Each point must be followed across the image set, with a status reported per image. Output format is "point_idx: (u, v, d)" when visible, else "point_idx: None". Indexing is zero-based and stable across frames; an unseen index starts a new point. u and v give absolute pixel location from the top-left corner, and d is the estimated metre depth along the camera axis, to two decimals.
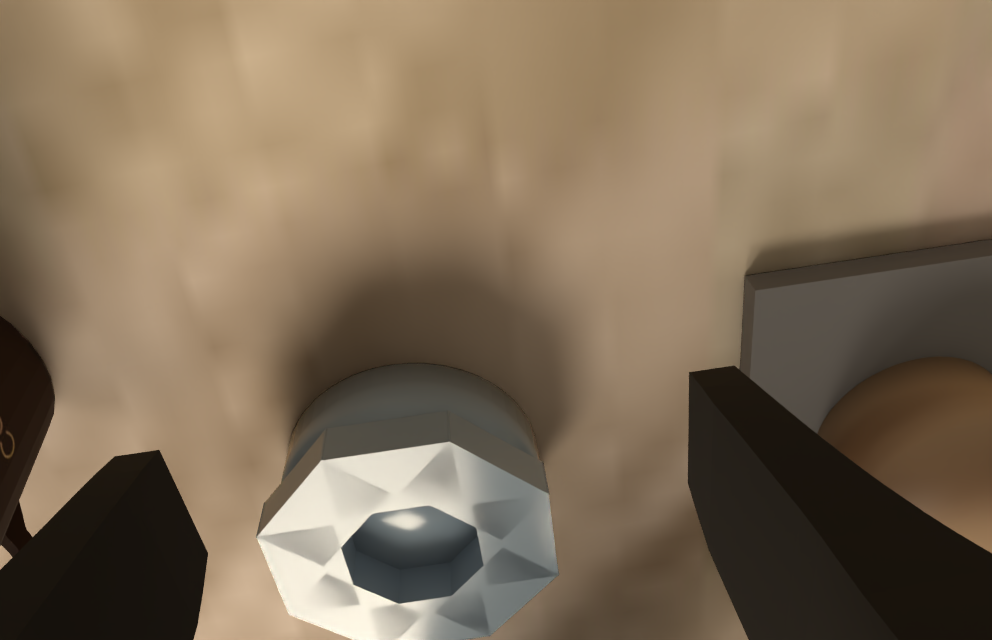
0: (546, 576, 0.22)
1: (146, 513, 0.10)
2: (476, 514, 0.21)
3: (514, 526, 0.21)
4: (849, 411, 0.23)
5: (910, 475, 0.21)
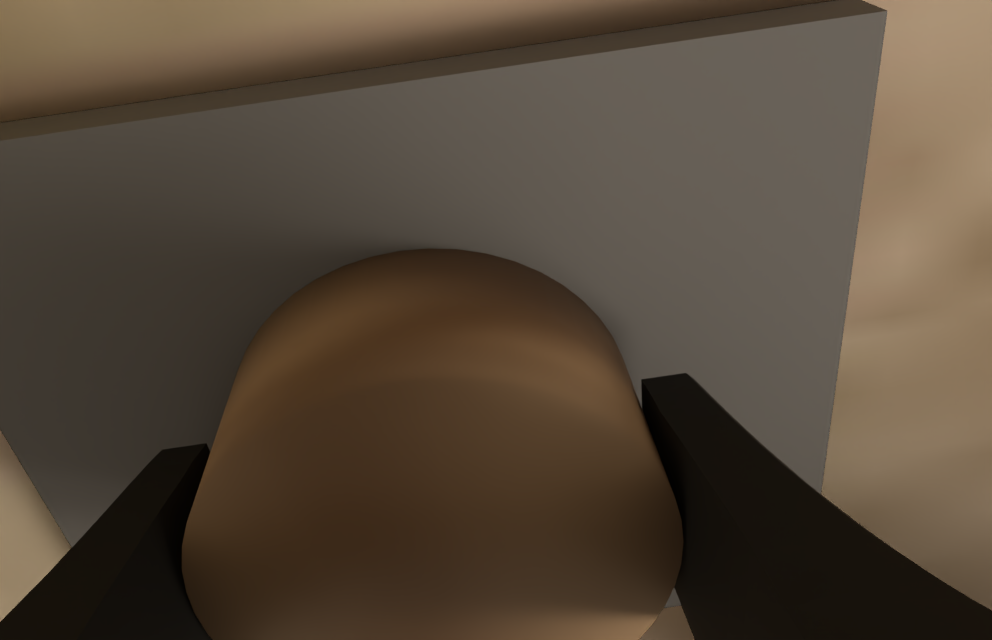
0: None
1: None
2: None
3: None
4: None
5: None
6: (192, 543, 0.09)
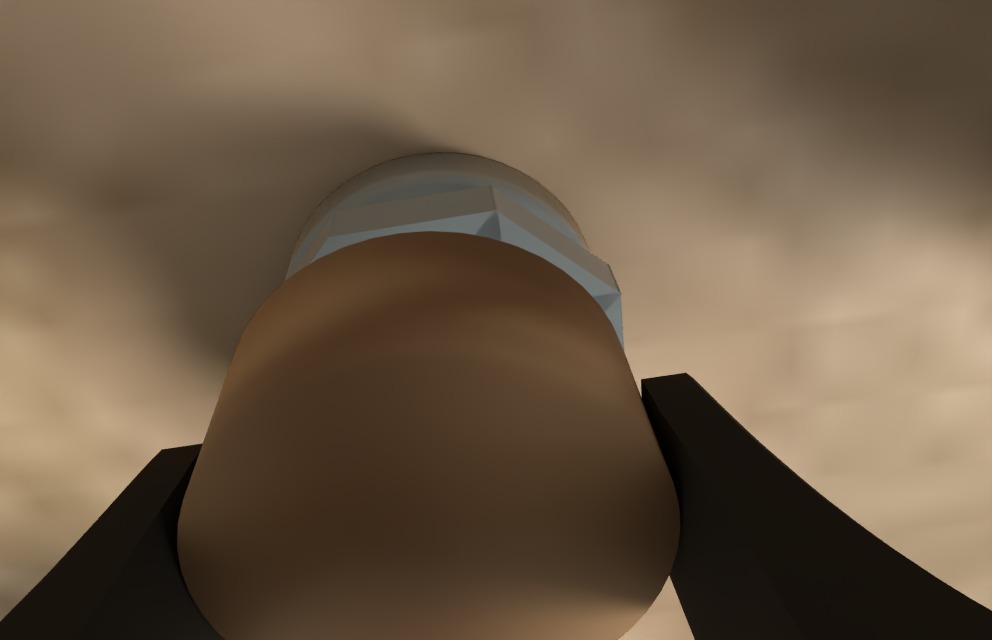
0: (497, 226, 0.15)
1: None
2: None
3: None
4: None
5: None
6: (188, 520, 0.09)
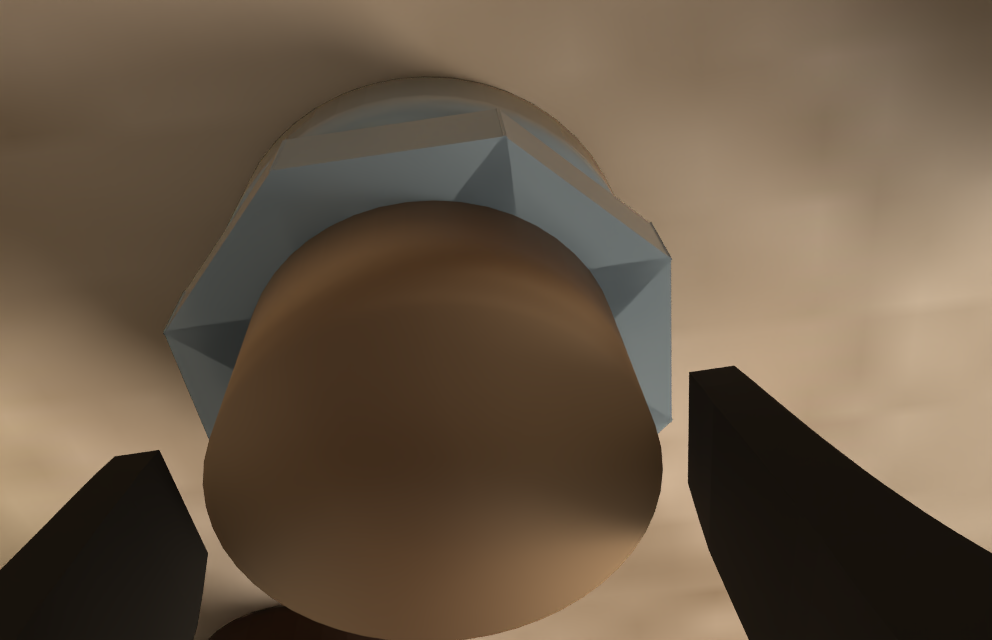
0: (506, 160, 0.11)
1: (146, 513, 0.10)
2: None
3: None
4: None
5: (363, 591, 0.11)
6: (213, 458, 0.09)
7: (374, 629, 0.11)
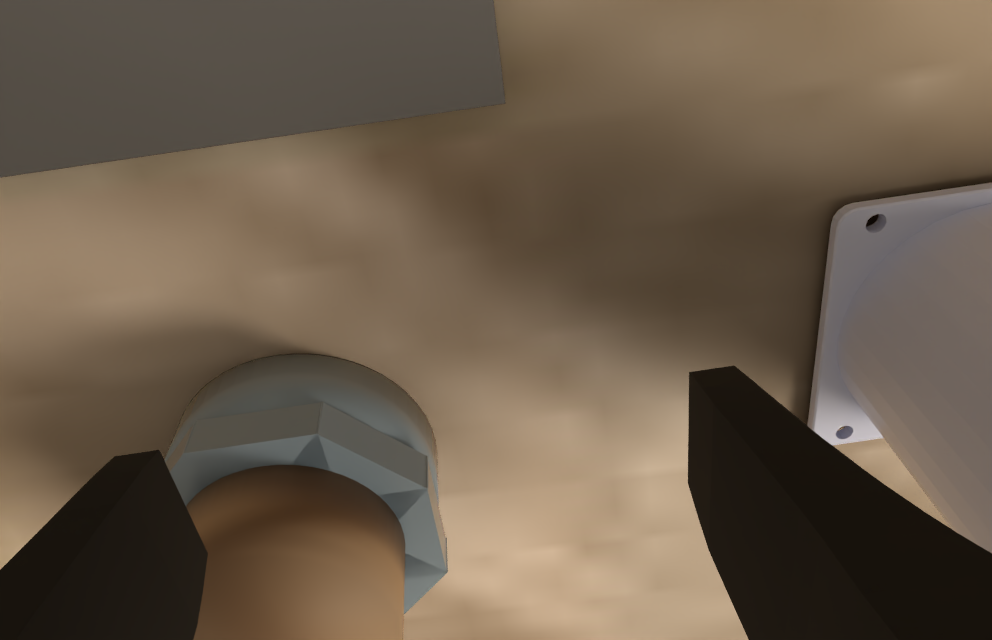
0: (319, 445, 0.19)
1: (146, 513, 0.10)
2: None
3: None
4: None
5: None
6: None
7: None
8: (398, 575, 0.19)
